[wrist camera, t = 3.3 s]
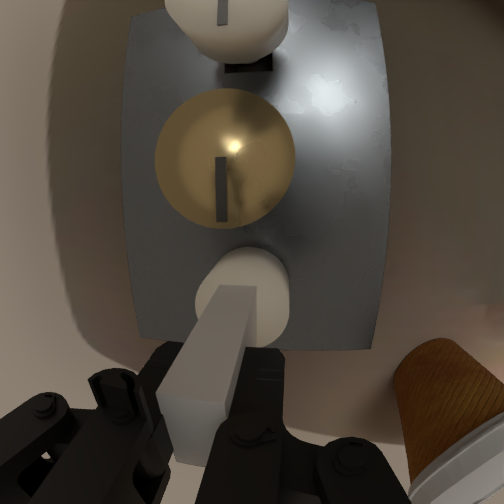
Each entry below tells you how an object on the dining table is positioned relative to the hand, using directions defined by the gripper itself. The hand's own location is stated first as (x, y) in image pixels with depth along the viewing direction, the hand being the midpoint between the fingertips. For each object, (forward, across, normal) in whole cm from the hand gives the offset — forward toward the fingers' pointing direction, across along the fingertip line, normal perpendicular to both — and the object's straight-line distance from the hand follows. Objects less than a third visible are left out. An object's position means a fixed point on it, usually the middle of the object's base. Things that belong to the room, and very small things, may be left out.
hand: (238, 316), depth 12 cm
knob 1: (+3, 0, +12) cm, 13 cm away
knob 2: (+6, 0, 0) cm, 6 cm away
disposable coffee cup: (+7, +14, -8) cm, 18 cm away
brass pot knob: (+3, 0, +6) cm, 7 cm away
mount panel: (+7, 0, +6) cm, 9 cm away
